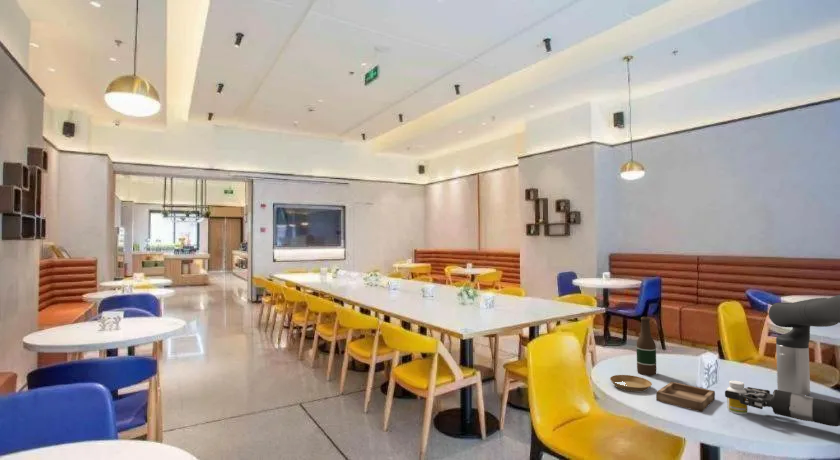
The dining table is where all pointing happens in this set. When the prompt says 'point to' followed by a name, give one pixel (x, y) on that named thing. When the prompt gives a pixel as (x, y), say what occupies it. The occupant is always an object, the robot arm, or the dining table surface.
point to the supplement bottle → (735, 404)
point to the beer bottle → (646, 350)
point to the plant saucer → (631, 383)
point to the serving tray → (685, 396)
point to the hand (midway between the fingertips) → (727, 391)
